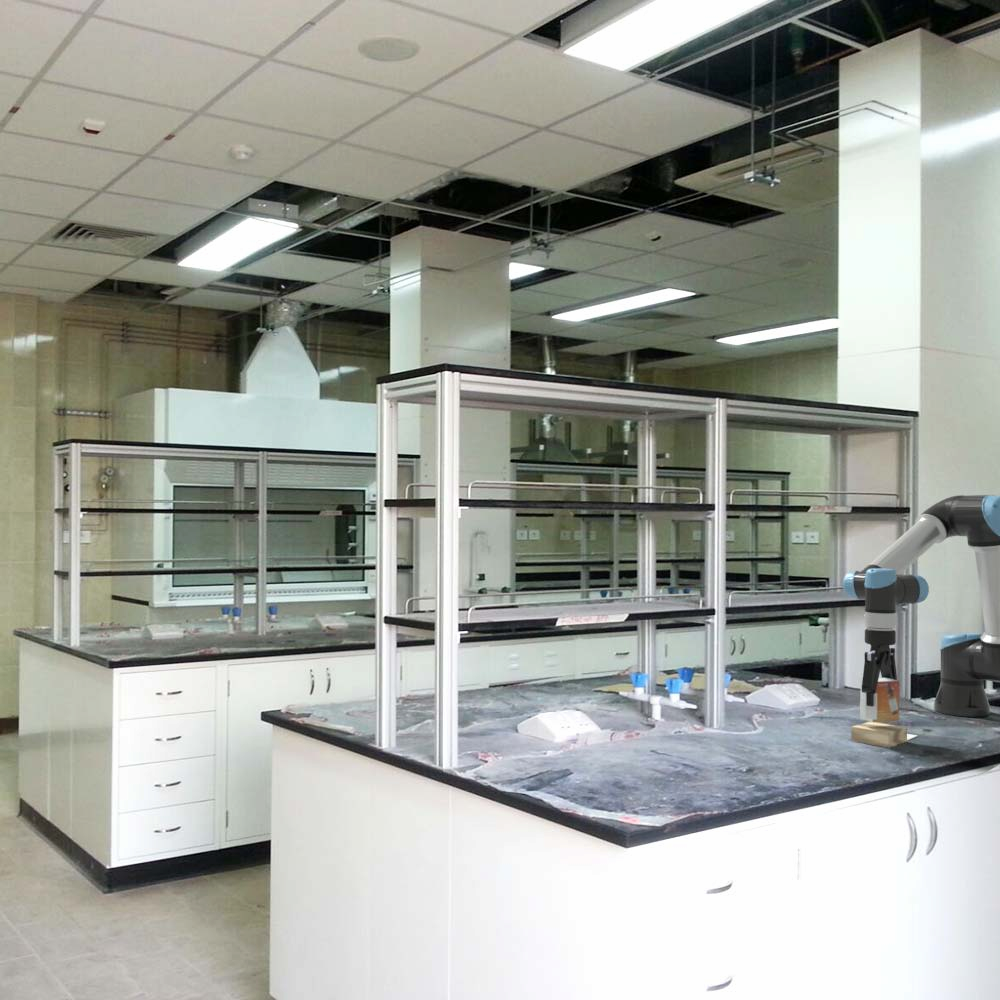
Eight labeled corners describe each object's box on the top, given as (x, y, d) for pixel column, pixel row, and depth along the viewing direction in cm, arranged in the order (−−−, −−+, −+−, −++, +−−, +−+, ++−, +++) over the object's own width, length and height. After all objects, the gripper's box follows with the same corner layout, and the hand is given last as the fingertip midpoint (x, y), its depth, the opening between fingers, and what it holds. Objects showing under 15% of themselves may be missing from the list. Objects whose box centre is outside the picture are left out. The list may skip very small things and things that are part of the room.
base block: (870, 736, 276) (870, 721, 276) (907, 743, 269) (907, 727, 269) (851, 742, 269) (851, 726, 269) (888, 749, 262) (888, 733, 262)
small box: (872, 723, 265) (872, 681, 265) (859, 718, 271) (859, 678, 271) (899, 721, 268) (900, 680, 268) (886, 717, 273) (886, 676, 273)
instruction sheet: (880, 730, 282) (880, 729, 282) (917, 736, 275) (917, 735, 275) (869, 734, 277) (869, 733, 277) (907, 740, 270) (907, 739, 270)
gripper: (883, 623, 280) (882, 707, 280) (847, 631, 264) (847, 720, 264) (911, 626, 275) (910, 711, 275) (876, 633, 259) (876, 724, 258)
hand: (879, 715), depth 269 cm, fingers closed on small box, 9 cm apart
